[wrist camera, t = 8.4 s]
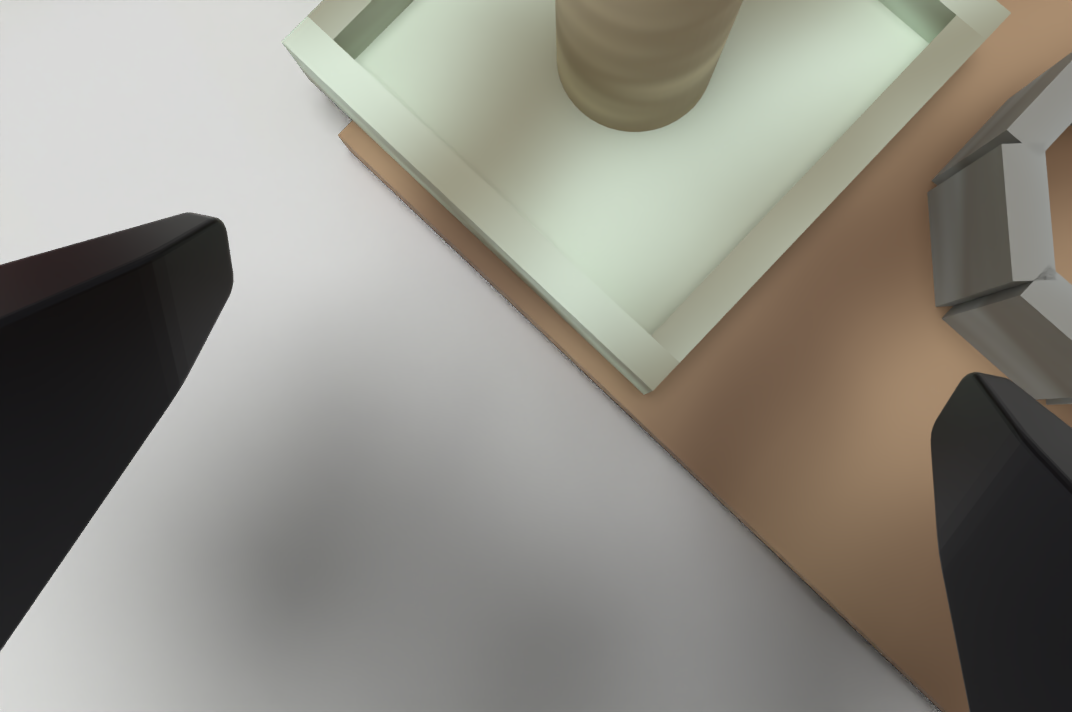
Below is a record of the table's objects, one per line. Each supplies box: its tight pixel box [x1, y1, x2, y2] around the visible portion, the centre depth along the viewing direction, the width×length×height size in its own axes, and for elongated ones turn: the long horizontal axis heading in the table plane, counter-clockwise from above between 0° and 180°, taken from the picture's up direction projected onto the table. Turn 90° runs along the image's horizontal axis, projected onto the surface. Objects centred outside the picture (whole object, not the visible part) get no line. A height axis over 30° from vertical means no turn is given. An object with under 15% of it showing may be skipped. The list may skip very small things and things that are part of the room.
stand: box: [282, 0, 1072, 712], centre depth 16 cm, size 26×15×4 cm, turn 46°
